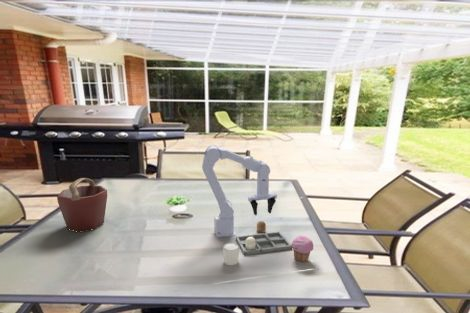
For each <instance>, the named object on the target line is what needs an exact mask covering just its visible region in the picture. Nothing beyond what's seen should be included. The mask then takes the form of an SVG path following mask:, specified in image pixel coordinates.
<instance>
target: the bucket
mask: <svg viewBox="0 0 470 313" xmlns="http://www.w3.org/2000/svg"><path fill="white" fill-rule="evenodd" d="M83 181H85V182H87V183H88V185H80V186H79V184H80V183H81V182H83ZM56 200H57V205H58V206H59V209H60V212H61V214H62V217H63V220H64V223H65V226H66V228H67V230H68V229H70V230H74V231H77V232H76V233H78V232H80V231H85V232H87V231H86V230H91V229H95V228H97V227H98V228H100V227H101V226H102V224H103V223H104V224H105V217H106V210H107V209H106V208H107V200H108V190H107V189H106V187H104V186H102V185H96V184H95V182H94V180H93V179H90V178H87V177H80V178H78V179H76V180H74V181H73V182H72V183H71V184H70V185H69V186H68V188H67V189H63V190H62V191H60V193H59V194H58V195H57V196H56ZM104 224H103V225H104ZM100 225H101V226H100ZM99 226H100V227H99ZM98 228H97V229H98ZM70 230H69V231H70ZM95 230H96V229H95ZM74 231H73V232H74ZM91 231H92V230H91ZM80 233H81V232H80Z"/></svg>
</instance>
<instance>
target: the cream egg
mask: <svg viewBox="0 0 470 313" xmlns="http://www.w3.org/2000/svg"><path fill="white" fill-rule="evenodd" d="M255 249H256V241H255V239H254V238H253V237H248V238H247V239H246V251H247V250H255Z"/></svg>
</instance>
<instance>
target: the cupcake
mask: <svg viewBox="0 0 470 313" xmlns="http://www.w3.org/2000/svg"><path fill="white" fill-rule="evenodd" d="M291 246H292V250H293V257H294V260H295V261H299V262H300V261H301V262H302V263H303V262H307V261H308V260H309V259H310V255H311V253H312V251H313V250H314V243H313V240H312V239H310V238H308V236H304V235H298V236H296V237H295V239H293V240H292V242H291Z"/></svg>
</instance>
